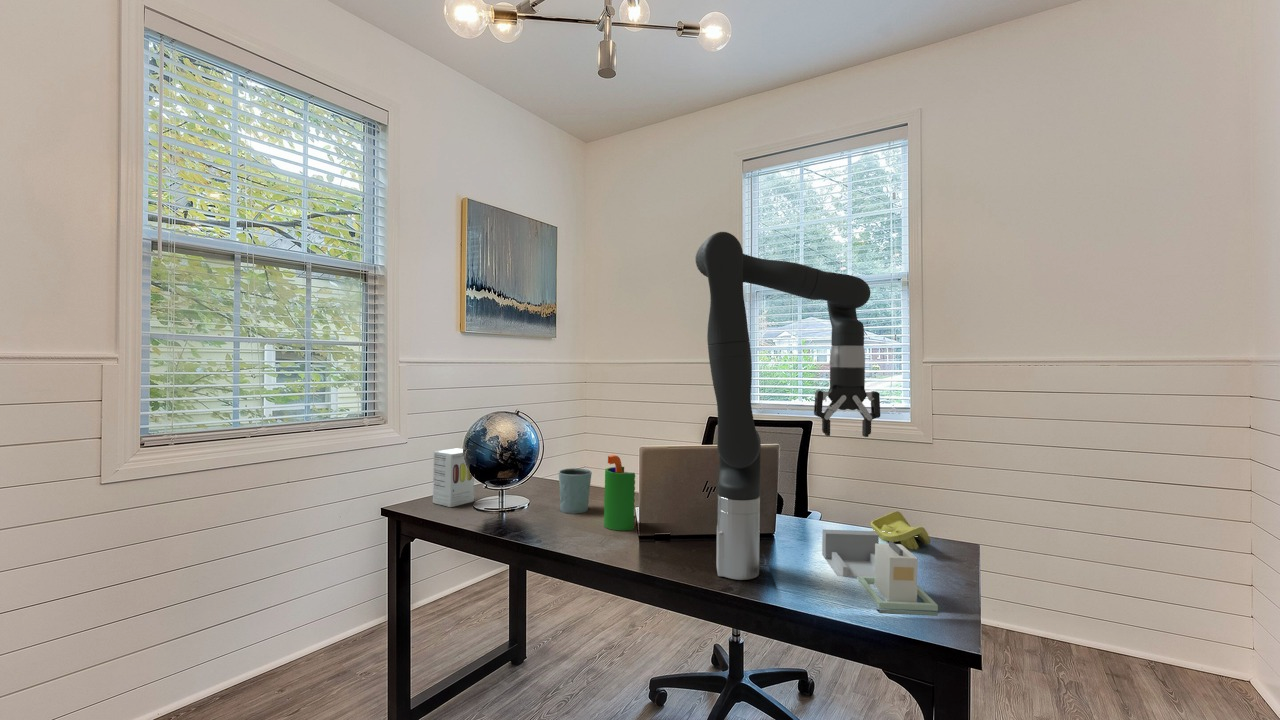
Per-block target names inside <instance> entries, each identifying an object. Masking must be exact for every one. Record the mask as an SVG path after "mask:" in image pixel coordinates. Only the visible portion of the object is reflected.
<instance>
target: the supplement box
mask: <svg viewBox="0 0 1280 720" xmlns="http://www.w3.org/2000/svg"><path fill="white" fill-rule="evenodd" d="M463 449H464V448H460V447H455V448H449V449H448V448H447V449H443V450H435V451H433V465H432V466H433V468H432V469H433V470H432V472H433V475H432V476H433V479H432V481H433V482H432V484H433V485H432V503H433V504H436V505H440V506H445V507H448V508H452V507H453V508H454V507H457V506H461V505H465V504H469V503H474V500H475V498H474V495H475V494H474V493H475V492H474V491H475V477H474V478H473V476H472V475H471V474H470V472H469V470H468V468H467V466H466V463H465V460H464V456H463Z"/></svg>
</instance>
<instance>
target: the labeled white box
mask: <svg viewBox="0 0 1280 720" xmlns="http://www.w3.org/2000/svg"><path fill="white" fill-rule="evenodd" d="M918 563H919V561H918V558H917V557H916V555H914V554H913V553H912V552H911V551H910V550H908V548H905V547H904V546H902V544H901V543H896V542H892V541H888V543H879V544H877V543H875V583H874V587H875V588H876V590H877V591H878V592H879V593H880V594H881V596H882V597H883V598H884V599H885V601H893V602H917V603H918V595H917V585H918Z"/></svg>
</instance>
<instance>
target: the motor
mask: <svg viewBox="0 0 1280 720" xmlns="http://www.w3.org/2000/svg"><path fill="white" fill-rule="evenodd" d="M607 464H609V465H615V466H612V467H608V468H605V470H604V503H603V504H604V506H603V509H604V510H603V526H604V528H606V529H608V530H613V531H621V532H623V531H633V530H634V529H635V526H636V516H635V509H636V508H635V496H636V492H635V490H636V474H635V472H627V471H625V466H622V461H621V458H620V457H619V456H618V455H615V454H611V455H608V456H607Z"/></svg>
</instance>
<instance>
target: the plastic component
mask: <svg viewBox="0 0 1280 720" xmlns="http://www.w3.org/2000/svg"><path fill="white" fill-rule="evenodd" d="M870 525H871V528H872V531H874V530H875V531H874V532H876V533H877V534H878V535H879V538H880V539H881V541H882V542H889V541H892V542H894V543H896V542H900V544H901V545H902V546H904V547H905V548H906V549H909V550H917V549H918V548H919V544H918V543H917V541H916V539H917V540H918V541H919V542H921V543H922V544H924V545H928V544H930V543H931V538H930V536H929V533H928V532H927V530H926V528H924V527H923V526H911V525H910V523H909V522H908V521H907V520H906V518H905V517H904V515H903V513H902V512H900V511H899V510H894V511H892V512H890V513H887V514H885V515H883V516H880V517H878V518H876V519H874V520H872V521H871V522H870ZM882 531H885V532H882ZM888 532H891V533H888ZM914 536H918V537H914Z"/></svg>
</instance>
